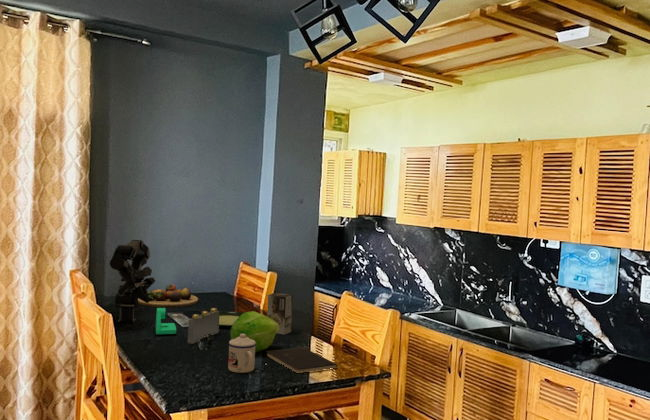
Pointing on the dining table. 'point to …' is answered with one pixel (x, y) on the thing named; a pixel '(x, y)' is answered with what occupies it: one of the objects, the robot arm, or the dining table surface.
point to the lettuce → (255, 329)
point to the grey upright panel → (203, 325)
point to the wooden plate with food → (170, 298)
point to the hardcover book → (300, 359)
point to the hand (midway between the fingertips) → (148, 302)
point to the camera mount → (163, 327)
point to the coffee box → (280, 311)
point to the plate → (228, 318)
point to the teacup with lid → (241, 354)
